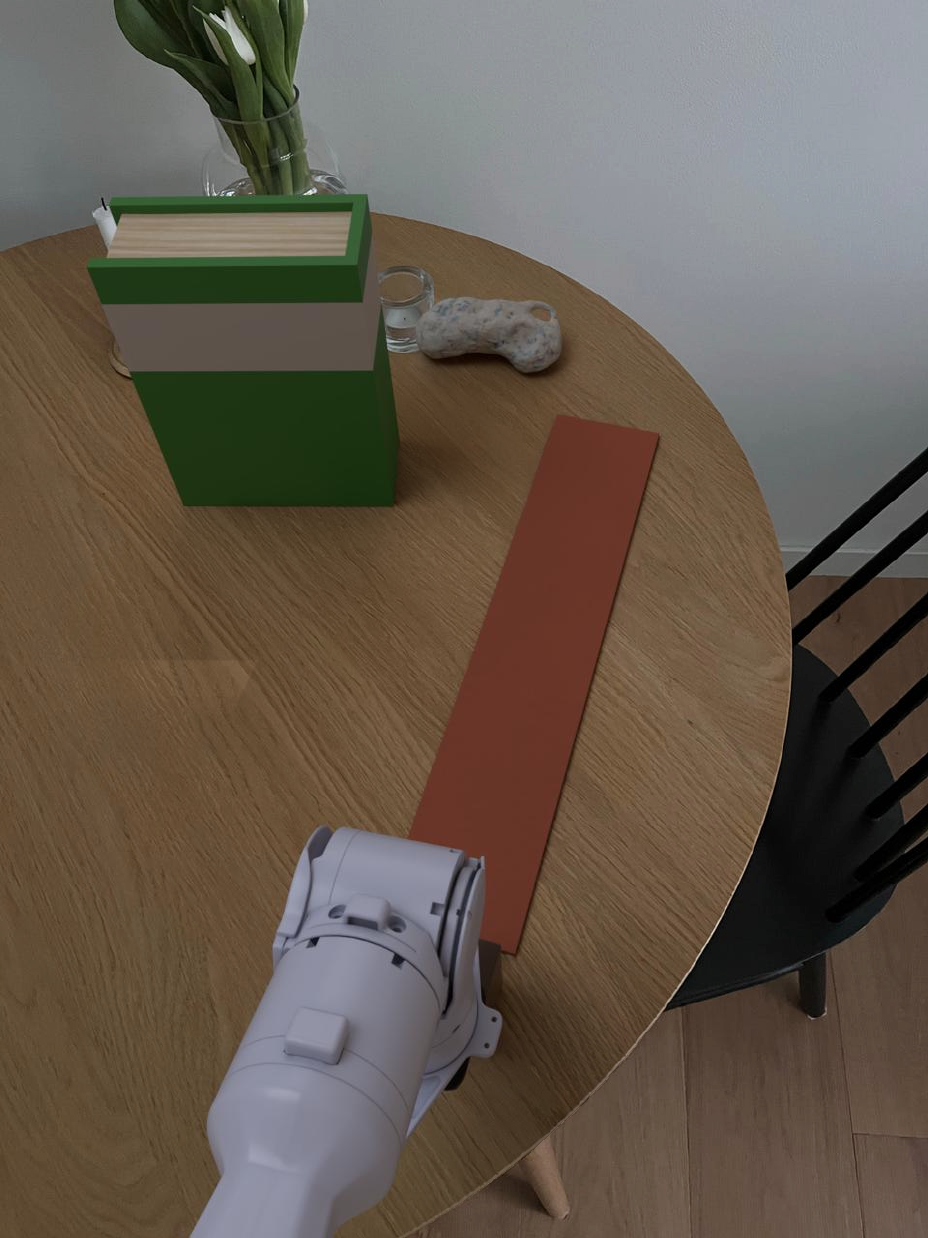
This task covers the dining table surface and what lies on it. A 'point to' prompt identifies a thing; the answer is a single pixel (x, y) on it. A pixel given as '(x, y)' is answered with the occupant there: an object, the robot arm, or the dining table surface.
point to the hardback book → (256, 345)
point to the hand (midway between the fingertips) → (429, 1051)
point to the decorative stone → (491, 331)
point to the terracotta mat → (535, 665)
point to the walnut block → (490, 970)
